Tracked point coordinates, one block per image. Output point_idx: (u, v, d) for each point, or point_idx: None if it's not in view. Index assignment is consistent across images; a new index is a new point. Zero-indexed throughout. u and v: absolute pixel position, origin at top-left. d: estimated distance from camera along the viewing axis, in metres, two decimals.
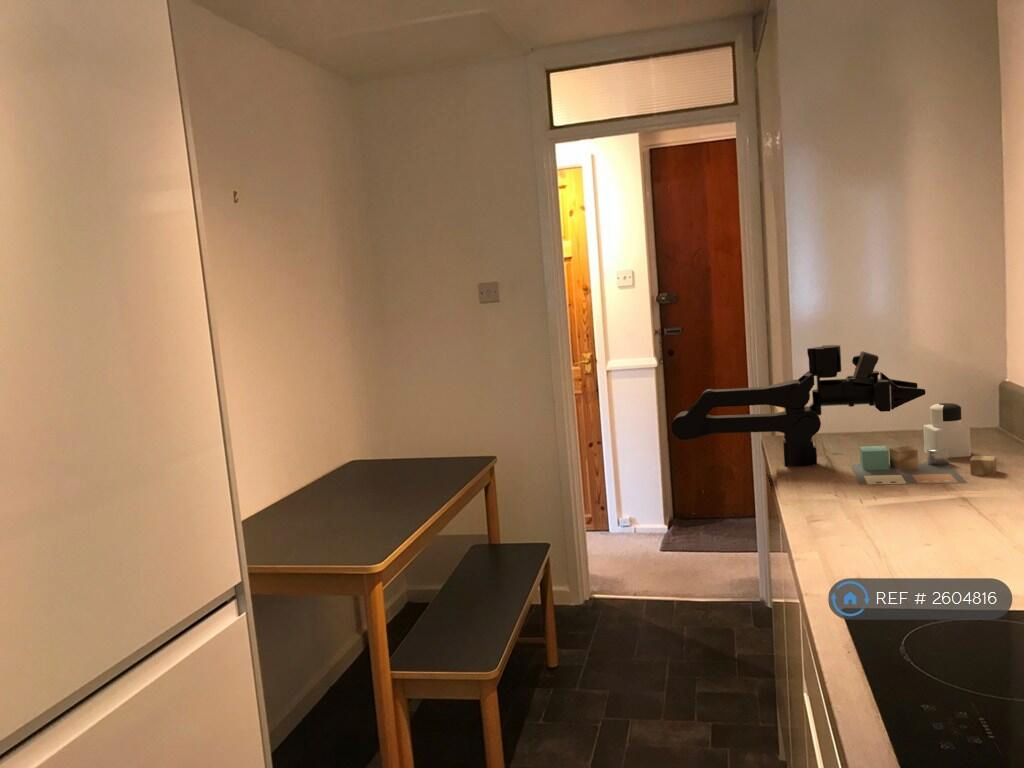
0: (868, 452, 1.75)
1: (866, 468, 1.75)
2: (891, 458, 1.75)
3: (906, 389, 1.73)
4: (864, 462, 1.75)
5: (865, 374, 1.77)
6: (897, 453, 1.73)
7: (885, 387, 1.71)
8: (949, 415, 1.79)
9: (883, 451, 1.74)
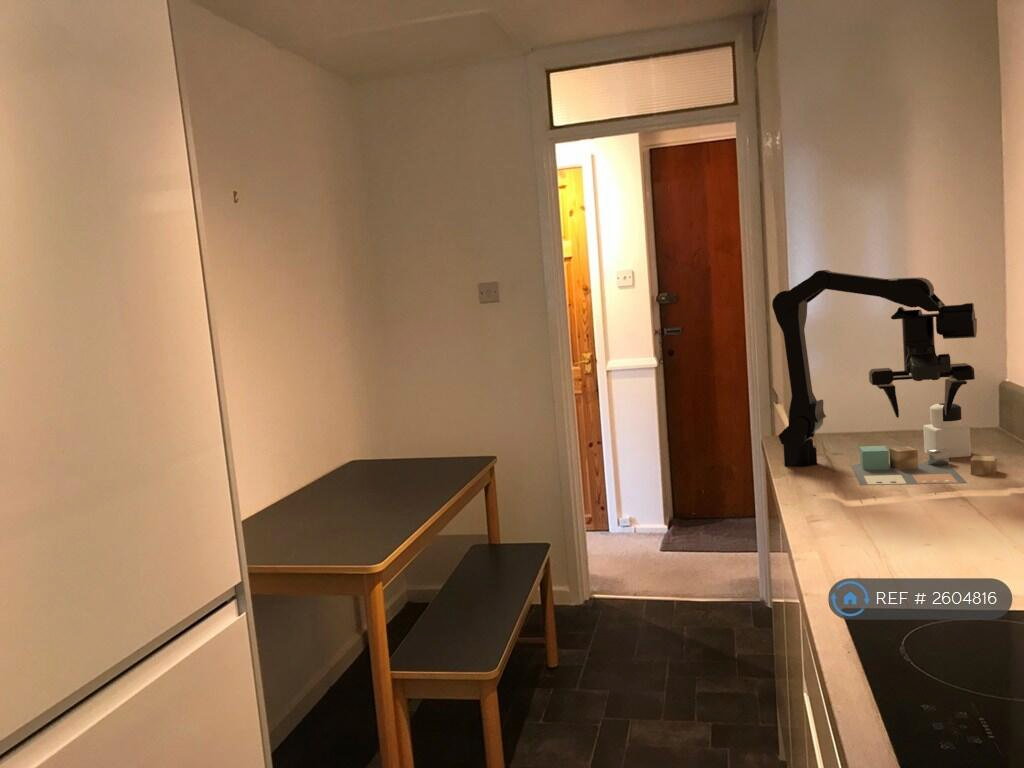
0: (868, 452, 1.75)
1: (866, 468, 1.75)
2: (891, 458, 1.75)
3: None
4: (864, 462, 1.75)
5: (908, 365, 1.66)
6: (897, 453, 1.73)
7: (871, 380, 1.71)
8: (949, 415, 1.79)
9: (883, 451, 1.74)
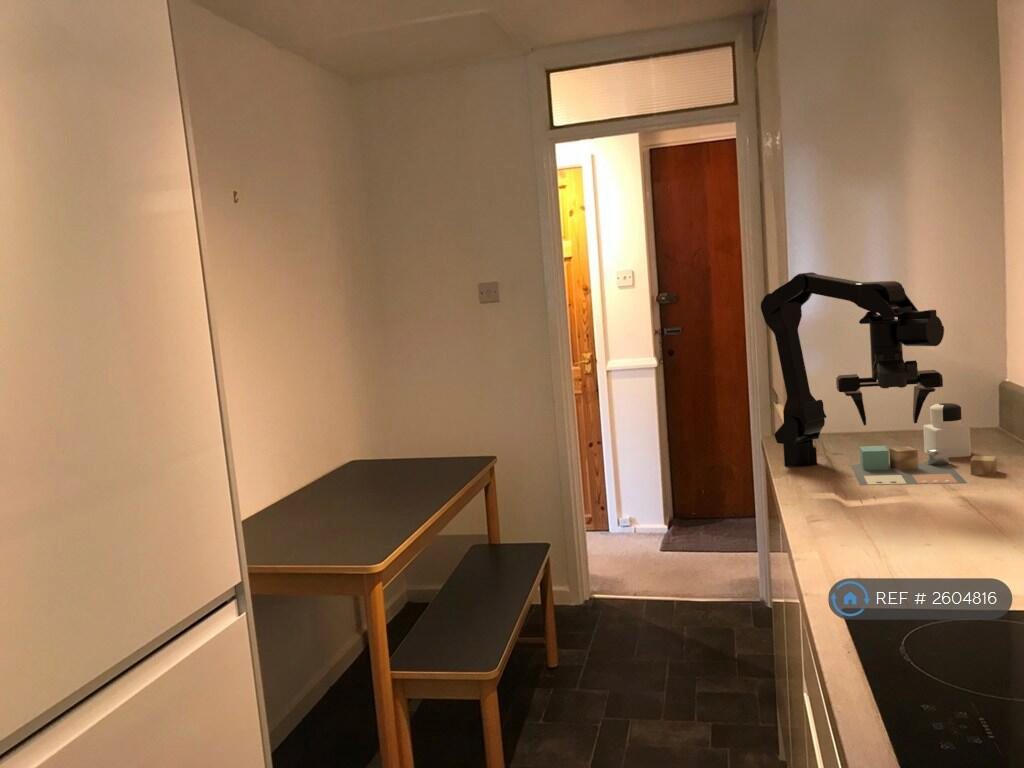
0: (868, 452, 1.75)
1: (866, 468, 1.75)
2: (891, 458, 1.75)
3: (857, 407, 1.67)
4: (864, 462, 1.75)
5: (875, 371, 1.62)
6: (897, 453, 1.73)
7: (838, 387, 1.66)
8: (949, 415, 1.79)
9: (883, 451, 1.74)
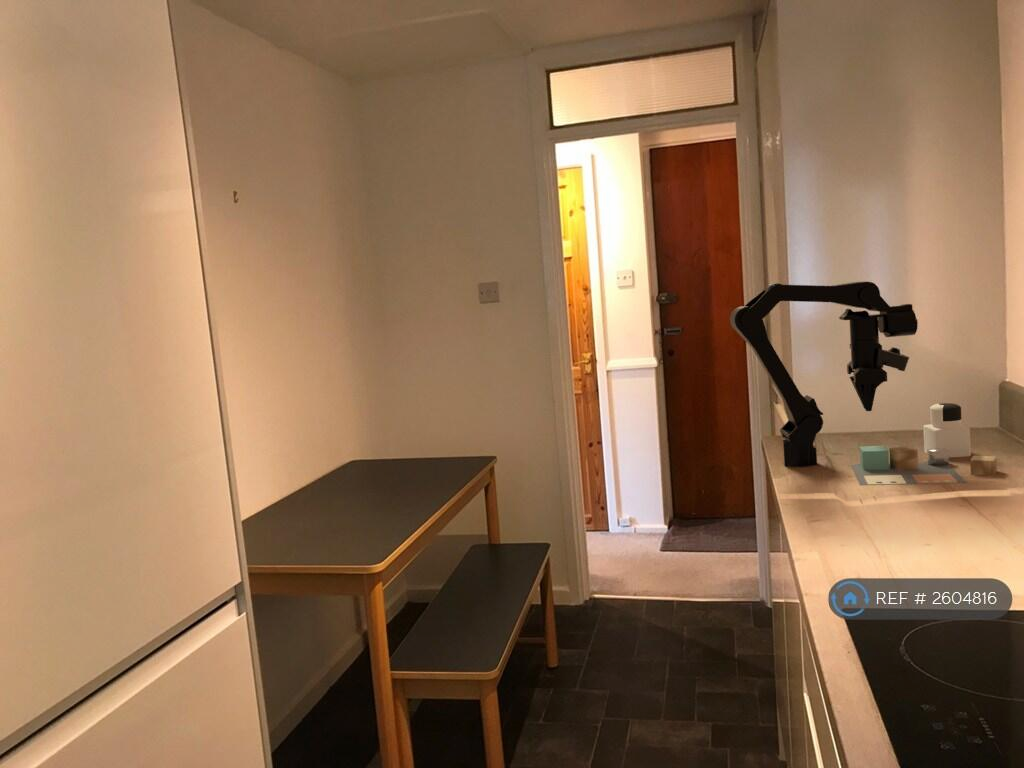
0: (868, 452, 1.75)
1: (866, 468, 1.75)
2: (891, 458, 1.75)
3: (872, 394, 1.80)
4: (864, 462, 1.75)
5: (887, 359, 1.79)
6: (897, 453, 1.73)
7: (881, 378, 1.73)
8: (949, 415, 1.79)
9: (883, 451, 1.74)
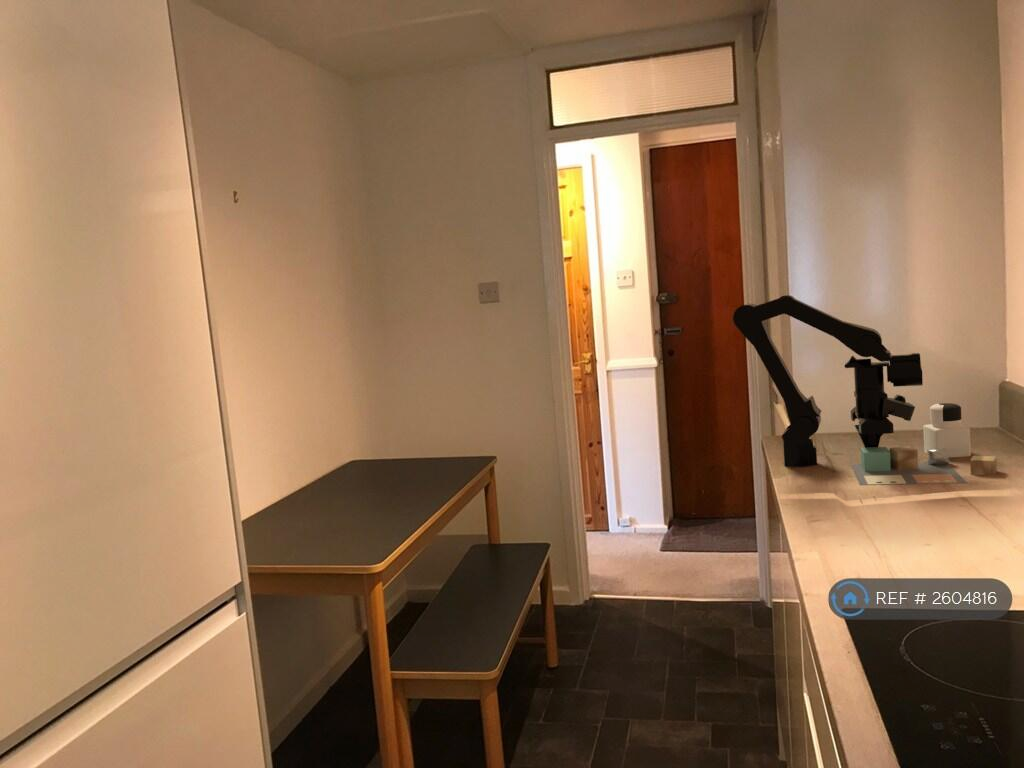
0: (869, 453, 1.74)
1: (867, 469, 1.74)
2: (891, 458, 1.75)
3: (877, 443, 1.78)
4: (865, 463, 1.74)
5: (892, 409, 1.75)
6: (897, 453, 1.73)
7: (888, 429, 1.70)
8: (949, 415, 1.79)
9: (884, 452, 1.73)
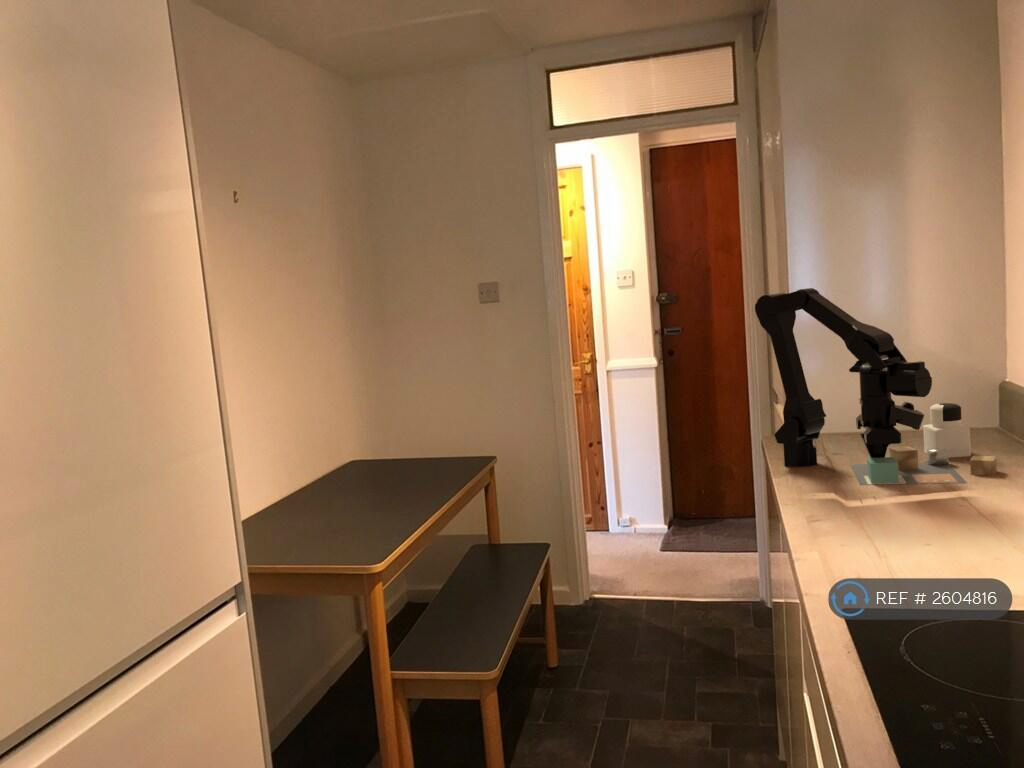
0: (876, 464, 1.64)
1: (874, 481, 1.65)
2: None
3: (883, 453, 1.68)
4: (872, 475, 1.65)
5: (900, 417, 1.65)
6: (897, 453, 1.73)
7: (895, 439, 1.60)
8: (949, 415, 1.79)
9: (892, 463, 1.63)
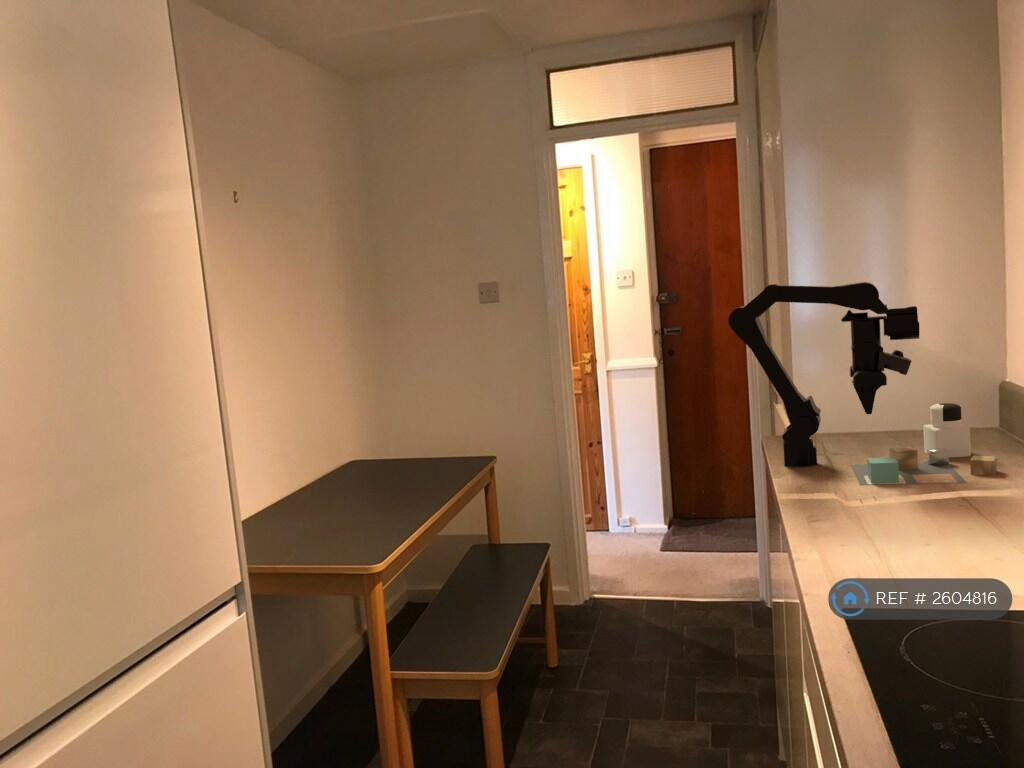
0: (876, 464, 1.64)
1: (874, 481, 1.65)
2: None
3: (872, 397, 1.77)
4: (872, 475, 1.65)
5: (888, 363, 1.74)
6: (897, 453, 1.73)
7: (880, 381, 1.69)
8: (949, 415, 1.79)
9: (892, 463, 1.63)
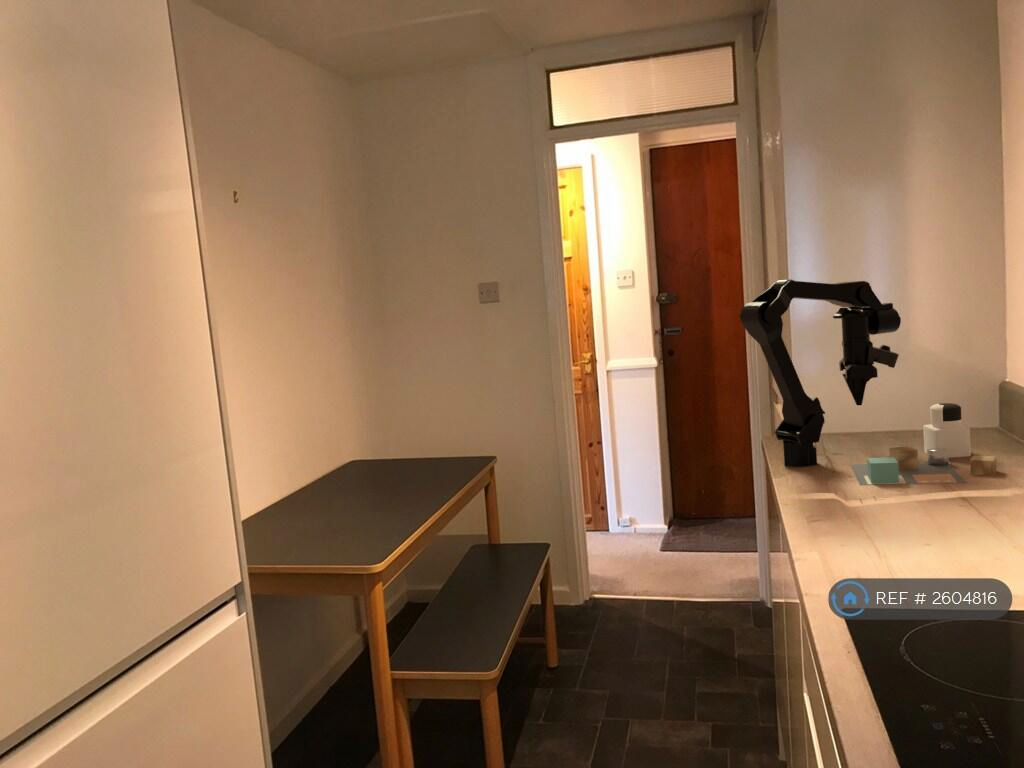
0: (876, 464, 1.64)
1: (874, 481, 1.65)
2: None
3: (863, 389, 1.89)
4: (872, 475, 1.65)
5: (877, 356, 1.86)
6: (897, 453, 1.73)
7: (872, 374, 1.80)
8: (949, 415, 1.79)
9: (892, 463, 1.63)
